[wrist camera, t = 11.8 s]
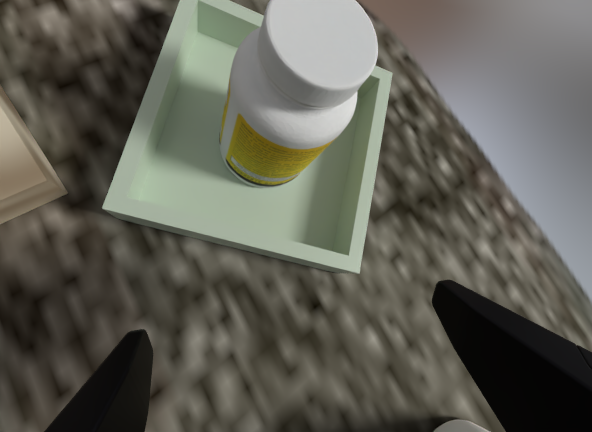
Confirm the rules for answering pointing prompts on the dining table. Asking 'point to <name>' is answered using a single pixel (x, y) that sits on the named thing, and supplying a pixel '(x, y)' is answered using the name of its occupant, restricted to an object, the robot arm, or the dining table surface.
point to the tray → (215, 174)
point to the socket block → (22, 167)
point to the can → (459, 427)
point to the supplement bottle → (294, 87)
